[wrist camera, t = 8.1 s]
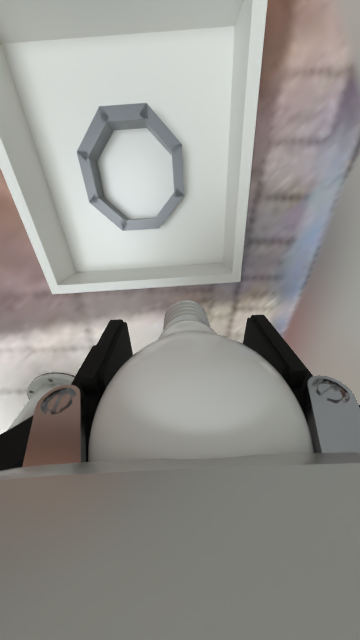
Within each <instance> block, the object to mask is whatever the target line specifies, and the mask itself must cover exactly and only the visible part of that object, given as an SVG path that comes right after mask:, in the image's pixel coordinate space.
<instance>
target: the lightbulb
mask: <svg viewBox="0 0 360 640" xmlns="http://www.w3.org/2000/svg"><path fill="white" fill-rule="evenodd" d="M303 453H314V448H313V443H312V438H311V434H310V431H309V427H308V424H307V421H306V418H305V416H304V413H303V411H302V409H301V406H300V404H299V402H298V400H297V398H296V397H295V395H294V393H293V391H292V390H291V388H290V387H289V385H288V384H287V382H286V381H285V380H284V378H283V377H282V376H281V375H280V374H279V372H278V371H277V370H276V369H275V368H274V367H273V366H272V365H271V364H270V363H269V362H268V361H267V360H266V359H264V358H263V357H262V356H261V355H259V354H258V353H257V352H255V351H254V350H252V349H251V348H249V347H248V346H246V345H244V344H242V343H240V342H238V341H236V340H233V339H231V338H228V337H225V336H222V335H218V334H217V333H216V332H215V331H214V330H213V329H212V328H210V325H209V322H208V318H207V314H206V312H205V310H204V308H203V307H202V306H201V305H200V304H198V303H196V302H194V301H189V300H183V301H179V302H176V303H174V304H173V305H171V306H170V307H169V308H168V310H167V311H166V314H165V319H164V330H163V333H162V334H161V335H160V337H159V338H158V340H156V341H154V342H152V343H150V344H149V345H147V346H145V347H144V348H142V349H141V350H139V351H138V352H137V353H135V354H134V355H133V356H132V357H131V358H129V359H128V360H127V361H126V362H125V363H124V364H123V365H122V367H121V368H120V369H119V370H118V371H117V373H116V374H115V375H114V377H113V378H112V379H111V381H110V382H109V384H108V386H107V387H106V389H105V391H104V393H103V395H102V397H101V399H100V401H99V404H98V406H97V409H96V412H95V415H94V418H93V422H92V426H91V431H90V437H89V445H88V462H101V461H123V460H145V459H211V458H228V457H240V456H249V455H274V454H303Z"/></svg>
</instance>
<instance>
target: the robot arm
mask: <svg viewBox="0 0 360 640" xmlns="http://www.w3.org/2000/svg"><path fill="white" fill-rule="evenodd" d="M243 344H244V345H246V346H248V347H249V348H251V349H252V350H254V351H255V352H257V353H258V354H259V355H261V356H262V357H263V358H264V359H266V360H267V361H268V362H269V363H270V364H271V365H272V366H273V367H274V368H275V369H276V370H277V371H278V372H279V374H280V375H281V376H282V377H283V378H284V380H285V381H286V382H287V384H288V385H289V387H290V388H291V390H292V391H293V393H294V395H295V397H296V398H297V400H298V402H299V404H300V406H301V409H302V411H303V413H304V416H305V418H306V421H307V424H308V427H309V431H310V434H311V438H312V443H313V448H314V453H303V454H274V455H249V456H240V457H228V458H211V459H145V460H123V461H101V462H88V445H89V437H90V431H91V426H92V422H93V418H94V415H95V412H96V409H97V406H98V404H99V401H100V399H101V397H102V395H103V393H104V391H105V389H106V387H107V386H108V384H109V382H110V381H111V379H112V378H113V377H114V375H115V374H116V373H117V371H118V370H119V369H120V368H121V367H122V365H123V364H124V363H125V362H126V361H127V360H128V359H129V358H131V357H132V356H133V353H132V348H131V343H130V337H129V332H128V327H127V323H126V322H123V320H110V322H109V323H108V325H107V327H106V329H105V331H104V332H103V334H102V336H101V338H100V340H99V342H98V343H97V345H95V346H93V347H92V348H91V350H90V352H89V354H88V355H87V357H86V359H85V361H84V362H83V364H82V366H81V368H80V369H79V371H78V373H77V375H76V376H75V377H72V376H69V375H65V374H57V373H56V374H45V375H42V376H39V377H37V378H36V379H34V381H33V382H32V383H31V384H30V386H29V387H28V390H27V395H28V398H29V402H28V403H27V404H26V406H25V407H24V408H23V410H22V411H21V413H20V414H19V415H18V417H17V418H16V419H15V421H14V422H13V423H12V425H11V426H10V427H9V429H8V430H7V431H6V432H4V433H2V434H1V435H0V640H360V405H358V403H357V400H356V398H355V396H354V394H353V393H352V391H351V390H350V389H349V388H348V387H347V386H346V385H344V384H342V383H341V382H339V381H337V380H335V379H333V378H330V377H327V376H320V375H319V376H313V375H312V374H311V373H310V372H309V370H308V369H307V368H306V367H305V365H304V364H303V363H302V362H301V360H300V359H299V358H298V357H297V355H296V354H295V353H294V352H293V350H292V349H291V348H290V347H289V345H288V344H287V343H286V342H285V341H284V339H283V338H282V337H281V336H280V334H279V333H278V332H277V331H276V329H275V328H274V327H273V326H272V324H271V323H270V322H269V321H268V319H267V318H266V317H265V316H264V315H252V316H251V318H248V319H247V323H246V329H245V335H244V341H243Z"/></svg>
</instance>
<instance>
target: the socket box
mask: <svg viewBox="0 0 360 640" xmlns="http://www.w3.org/2000/svg"><path fill="white" fill-rule="evenodd" d="M266 11H267V0H0V168H1V170H2V173H3V175H4V178H5V180H6V182H7V185H8V187H9V190H10V192H11V195H12V197H13V199H14V202H15V204H16V207H17V209H18V212H19V214H20V216H21V219H22V221H23V224H24V226H25V229H26V231H27V234H28V236H29V238H30V241H31V243H32V246H33V248H34V251H35V253H36V255H37V258H38V260H39V263H40V265H41V268H42V270H43V272H44V275H45V277H46V280H47V282H48V285H49V287H50V289H51V292H52V294H62V293H78V292H93V291H108V290H124V289H139V288H154V287H169V286H185V285H200V284H215V283H230V282H240V279H241V269H242V259H243V248H244V238H245V228H246V217H247V207H248V197H249V186H250V176H251V166H252V155H253V145H254V135H255V124H256V114H257V104H258V93H259V83H260V73H261V62H262V52H263V42H264V31H265V21H266Z"/></svg>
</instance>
